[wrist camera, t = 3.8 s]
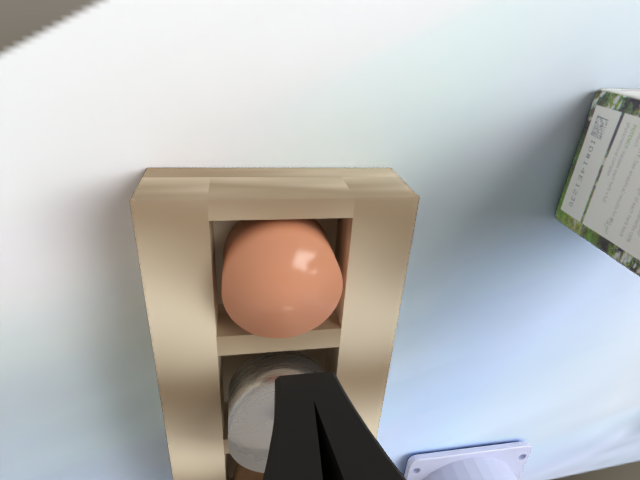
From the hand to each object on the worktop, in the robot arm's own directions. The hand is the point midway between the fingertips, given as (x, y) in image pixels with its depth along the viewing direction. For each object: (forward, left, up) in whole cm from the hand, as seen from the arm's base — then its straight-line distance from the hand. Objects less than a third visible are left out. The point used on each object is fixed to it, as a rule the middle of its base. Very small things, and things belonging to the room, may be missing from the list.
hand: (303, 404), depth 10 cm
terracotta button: (0, 0, -7) cm, 7 cm away
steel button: (-5, 0, -6) cm, 8 cm away
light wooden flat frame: (-5, 0, -8) cm, 10 cm away
